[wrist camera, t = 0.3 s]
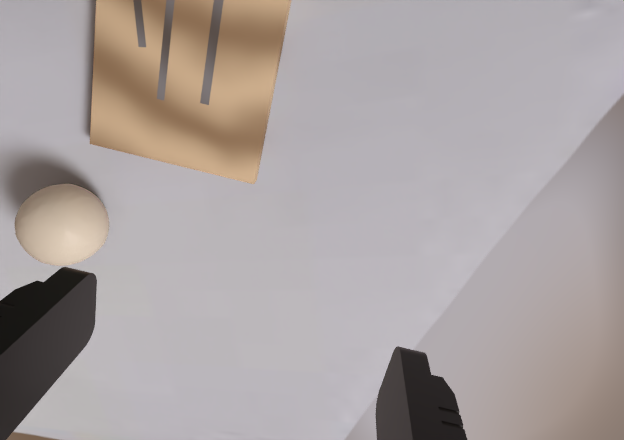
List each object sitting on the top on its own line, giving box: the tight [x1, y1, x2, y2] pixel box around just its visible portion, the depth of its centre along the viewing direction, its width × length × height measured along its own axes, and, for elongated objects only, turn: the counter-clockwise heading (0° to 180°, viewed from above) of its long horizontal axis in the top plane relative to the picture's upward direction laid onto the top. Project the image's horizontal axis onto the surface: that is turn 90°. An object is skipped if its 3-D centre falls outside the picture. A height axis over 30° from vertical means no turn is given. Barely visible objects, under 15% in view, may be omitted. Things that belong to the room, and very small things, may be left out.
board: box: [90, 0, 291, 184], centre depth 34 cm, size 24×14×1 cm, turn 167°
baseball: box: [15, 184, 109, 266], centre depth 39 cm, size 7×7×7 cm
